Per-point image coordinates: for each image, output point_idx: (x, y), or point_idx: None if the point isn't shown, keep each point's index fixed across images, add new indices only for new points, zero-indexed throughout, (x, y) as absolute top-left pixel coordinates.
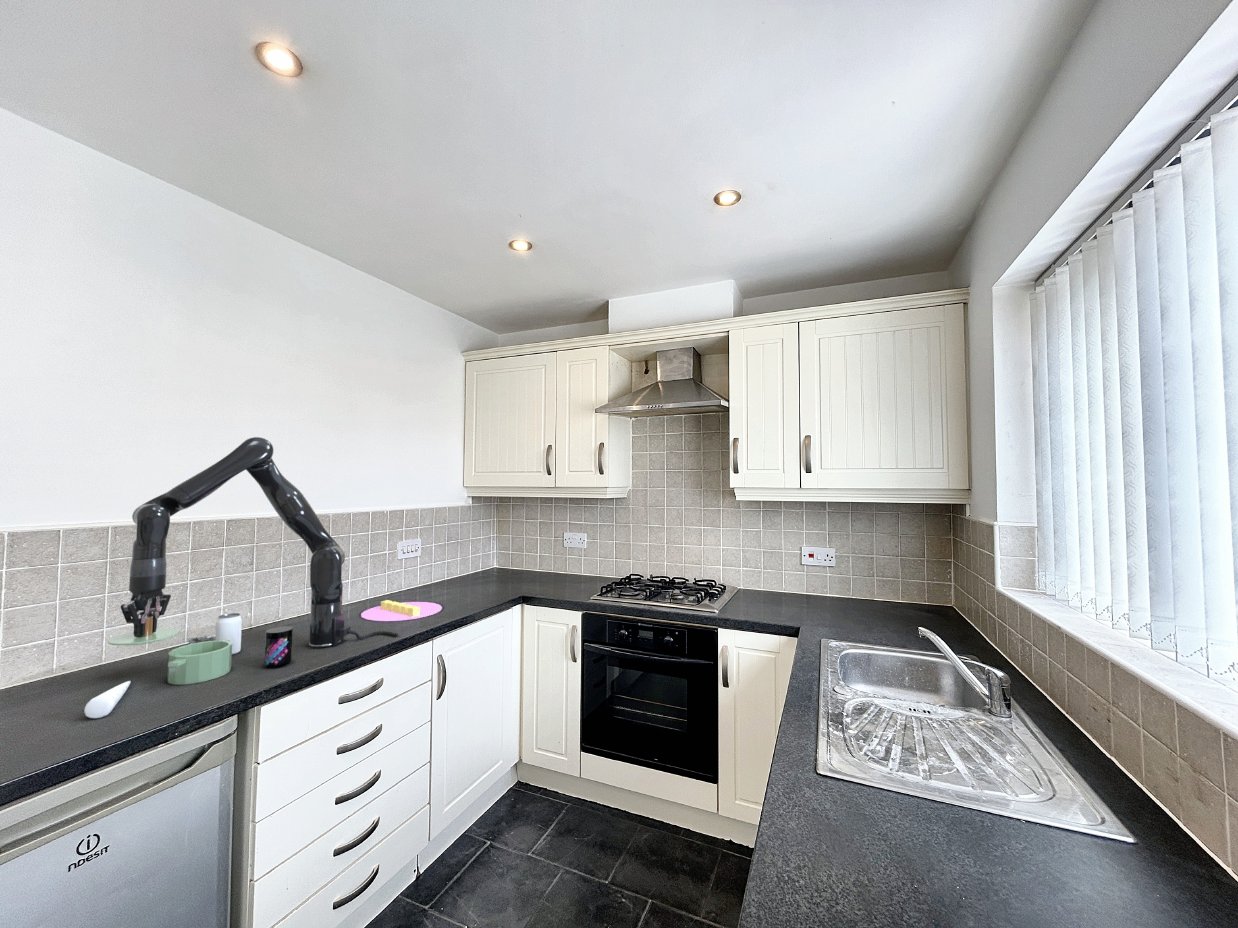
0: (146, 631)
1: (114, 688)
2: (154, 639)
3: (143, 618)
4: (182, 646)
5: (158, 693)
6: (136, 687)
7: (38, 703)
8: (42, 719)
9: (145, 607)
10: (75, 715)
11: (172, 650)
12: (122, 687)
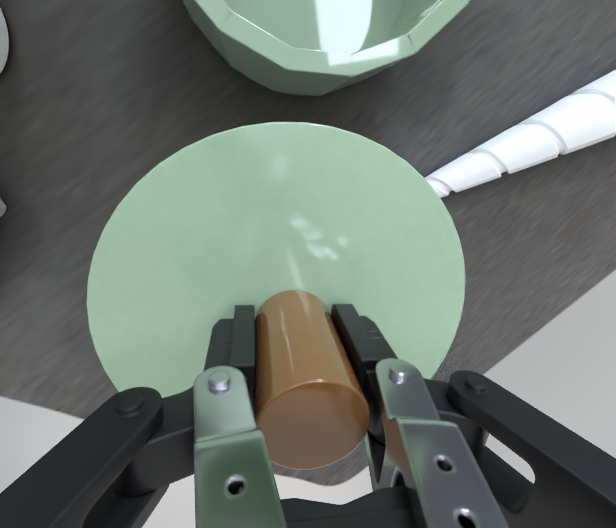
0: (324, 314)
1: (577, 128)
2: (416, 173)
3: (408, 392)
4: (278, 54)
5: (502, 6)
6: (411, 157)
7: (472, 340)
8: (596, 235)
9: (497, 518)
10: (605, 165)
11: (361, 65)
12: (529, 132)
